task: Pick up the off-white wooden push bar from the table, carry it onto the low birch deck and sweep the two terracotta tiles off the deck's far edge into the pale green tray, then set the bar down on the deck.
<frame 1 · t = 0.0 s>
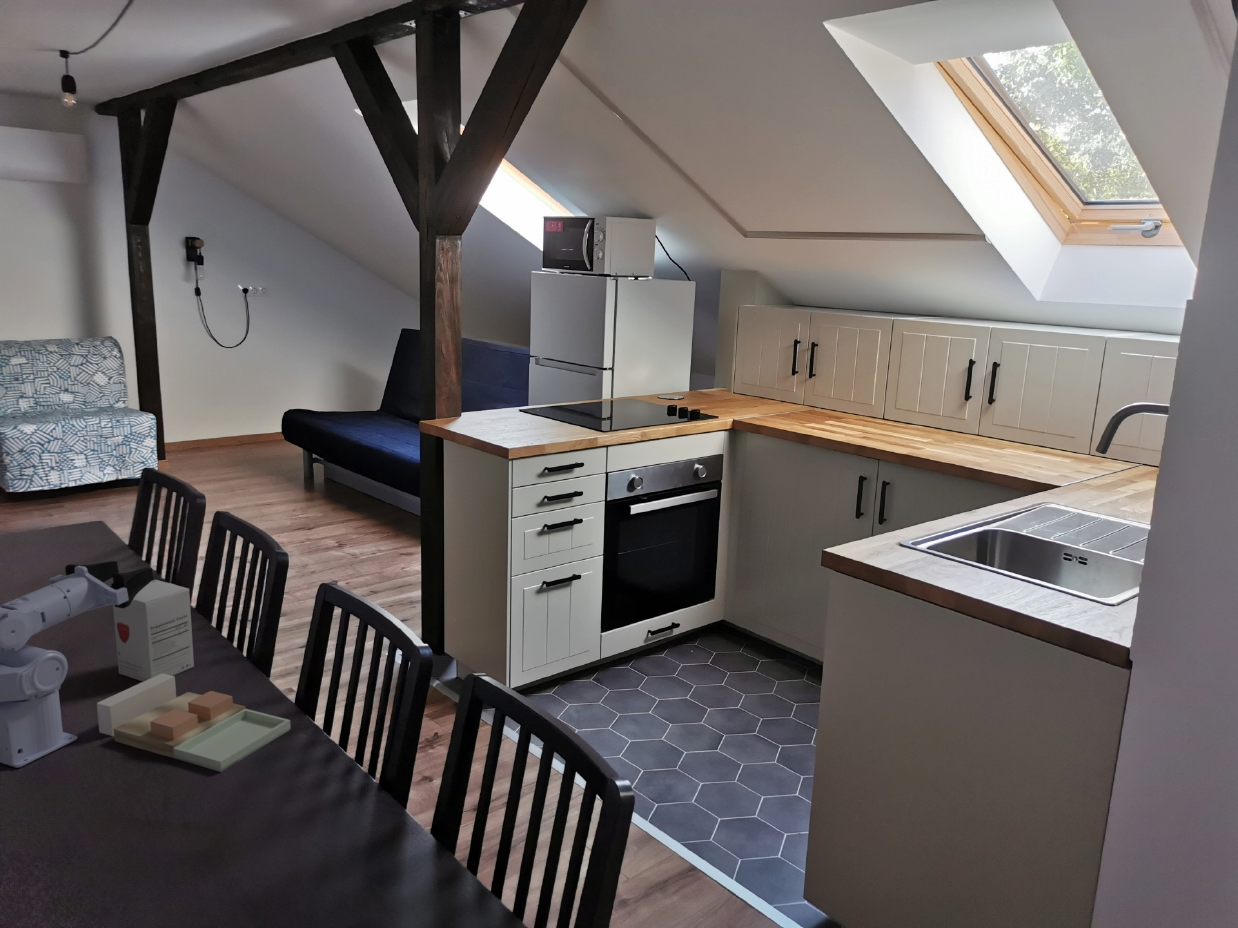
hand: (133, 570, 152), 22 cm above the table, tool horizontal, fingers open, 7 cm apart
push bar: (139, 718, 149), on the table
deck: (182, 729, 146), on the table
tray: (234, 743, 142), on the table
tile b: (211, 710, 147), point 2 cm above the table, touching deck
tile a: (174, 730, 141), point 2 cm above the table, touching deck
supplement box: (156, 671, 166), on the table
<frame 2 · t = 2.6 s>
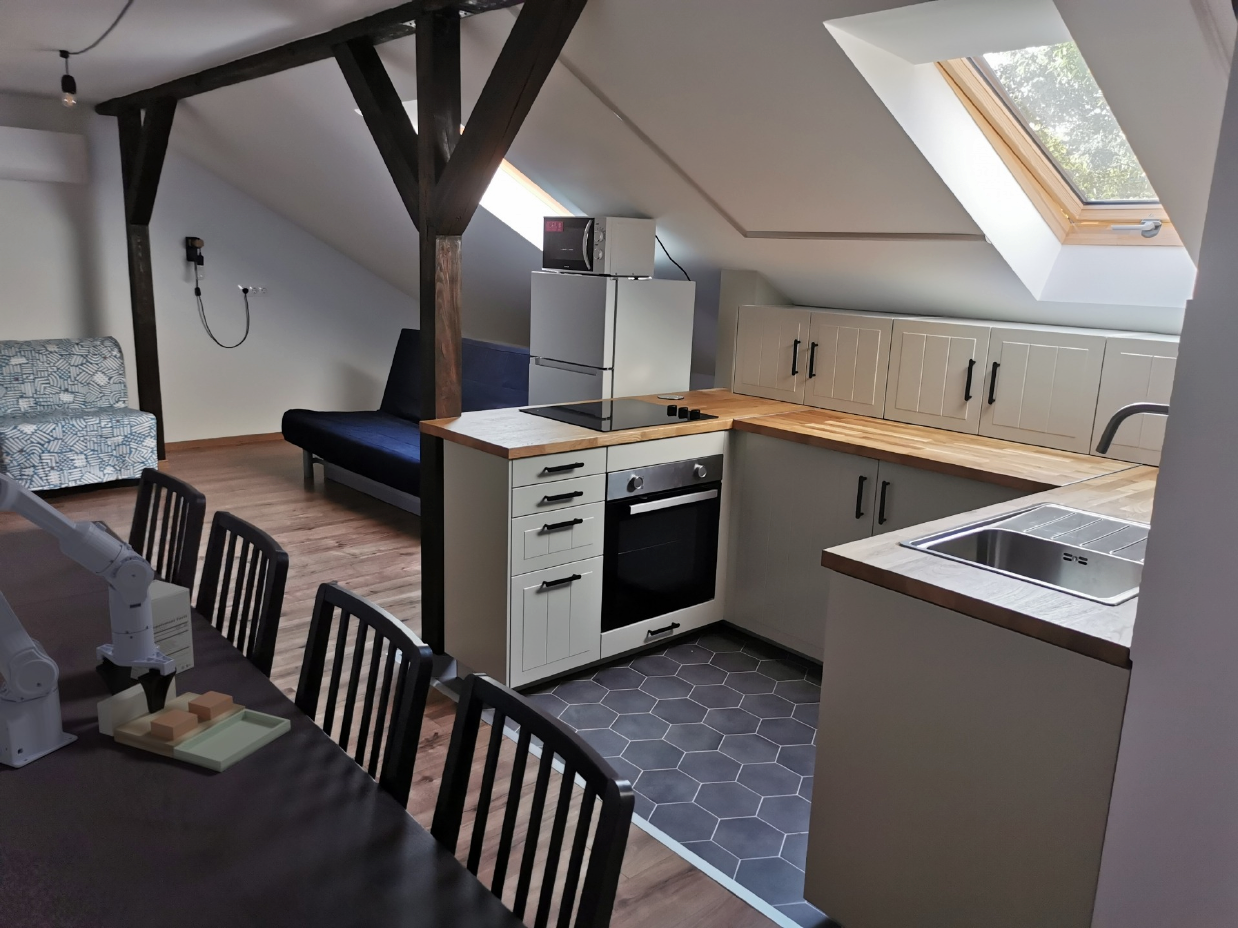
hand: (139, 708, 149), 2 cm above the table, tool pointing down, fingers open, 7 cm apart
nothing on the table moved.
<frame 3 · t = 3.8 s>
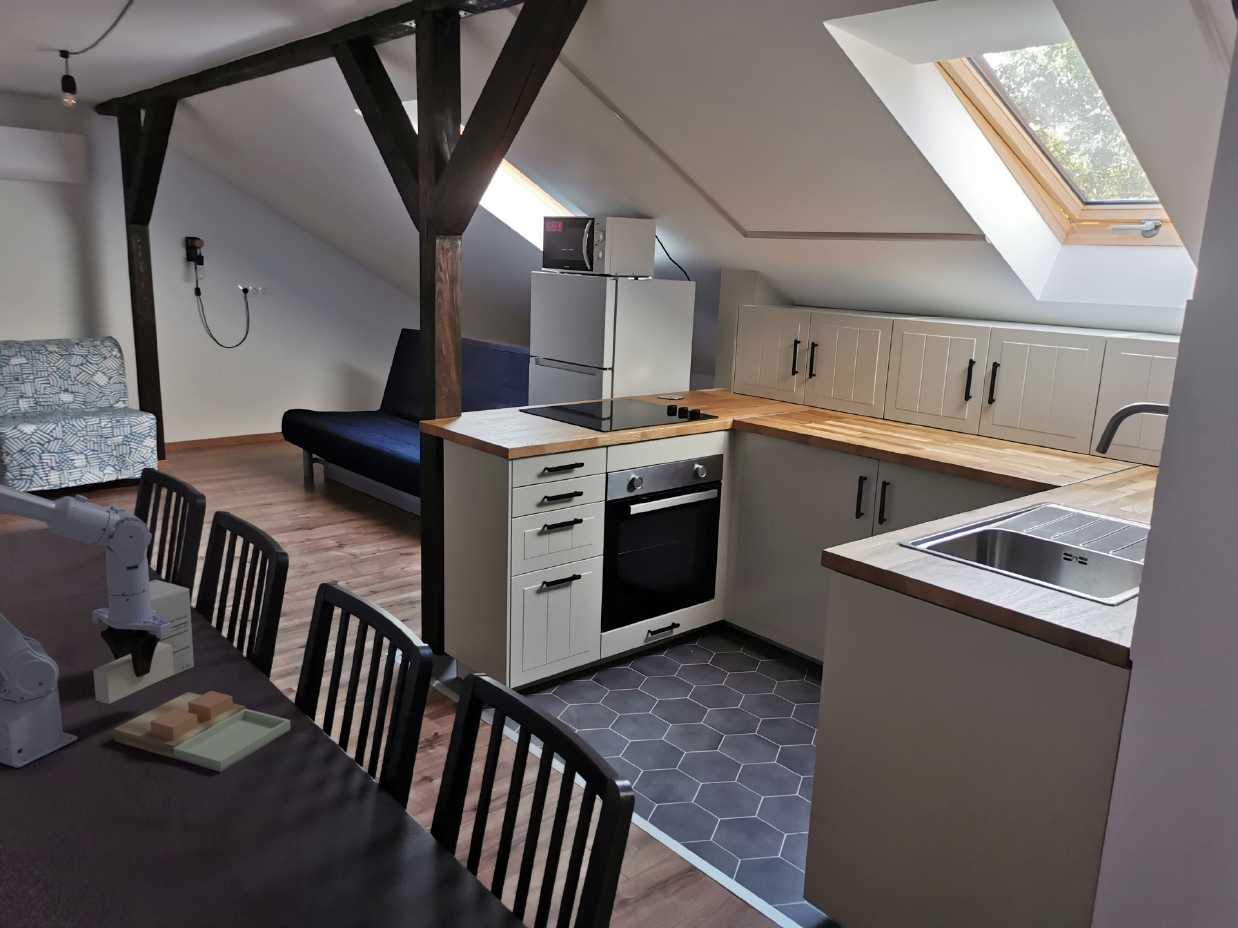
hand: (135, 672, 147), 8 cm above the table, tool pointing down, fingers closed on push bar, 3 cm apart
push bar: (136, 686, 148), point 5 cm above the table, touching gripper
everything else where it was.
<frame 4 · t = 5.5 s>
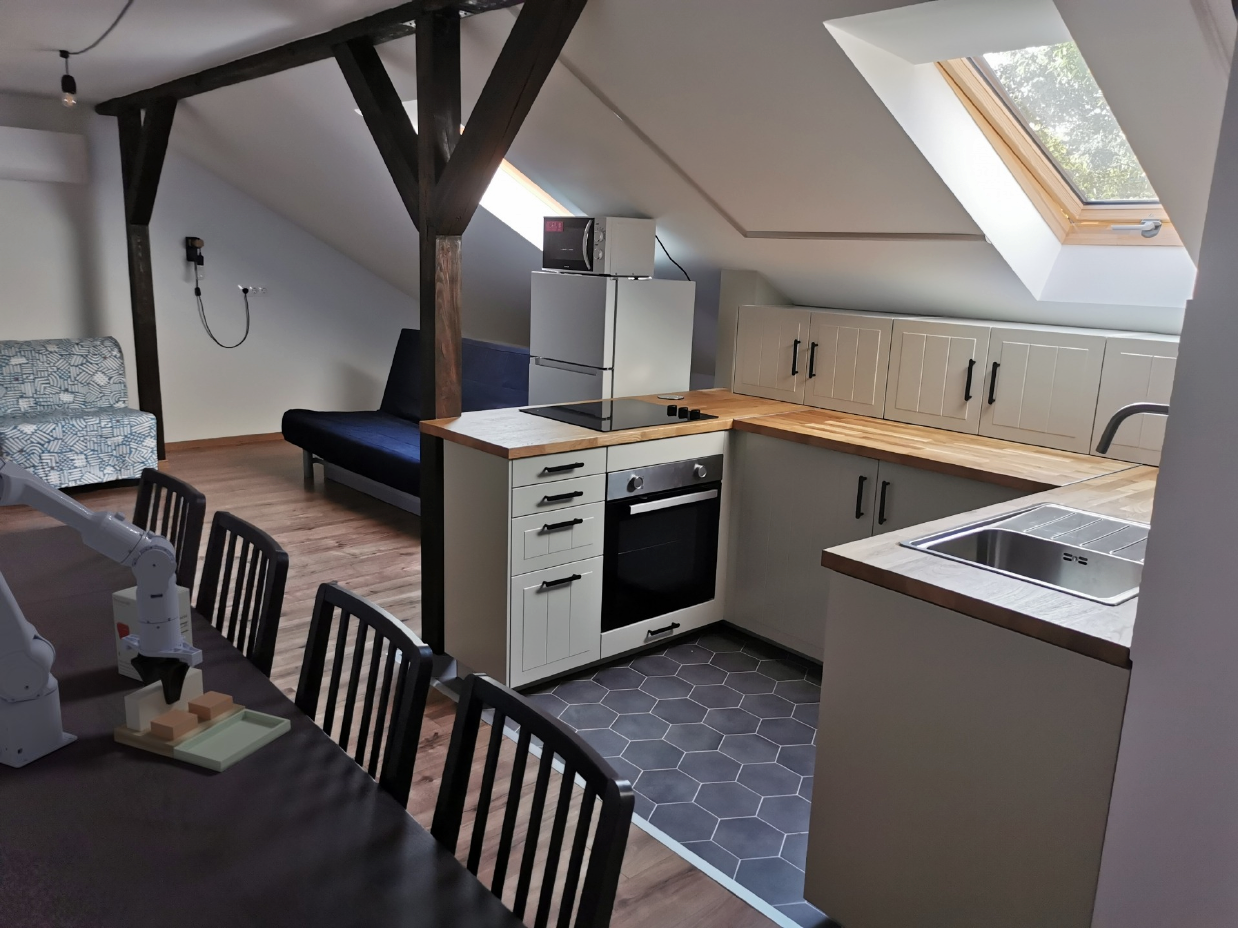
hand: (165, 699, 146), 4 cm above the table, tool pointing down, fingers closed on push bar, 3 cm apart
push bar: (166, 712, 146), point 2 cm above the table, touching gripper
everything else where it was.
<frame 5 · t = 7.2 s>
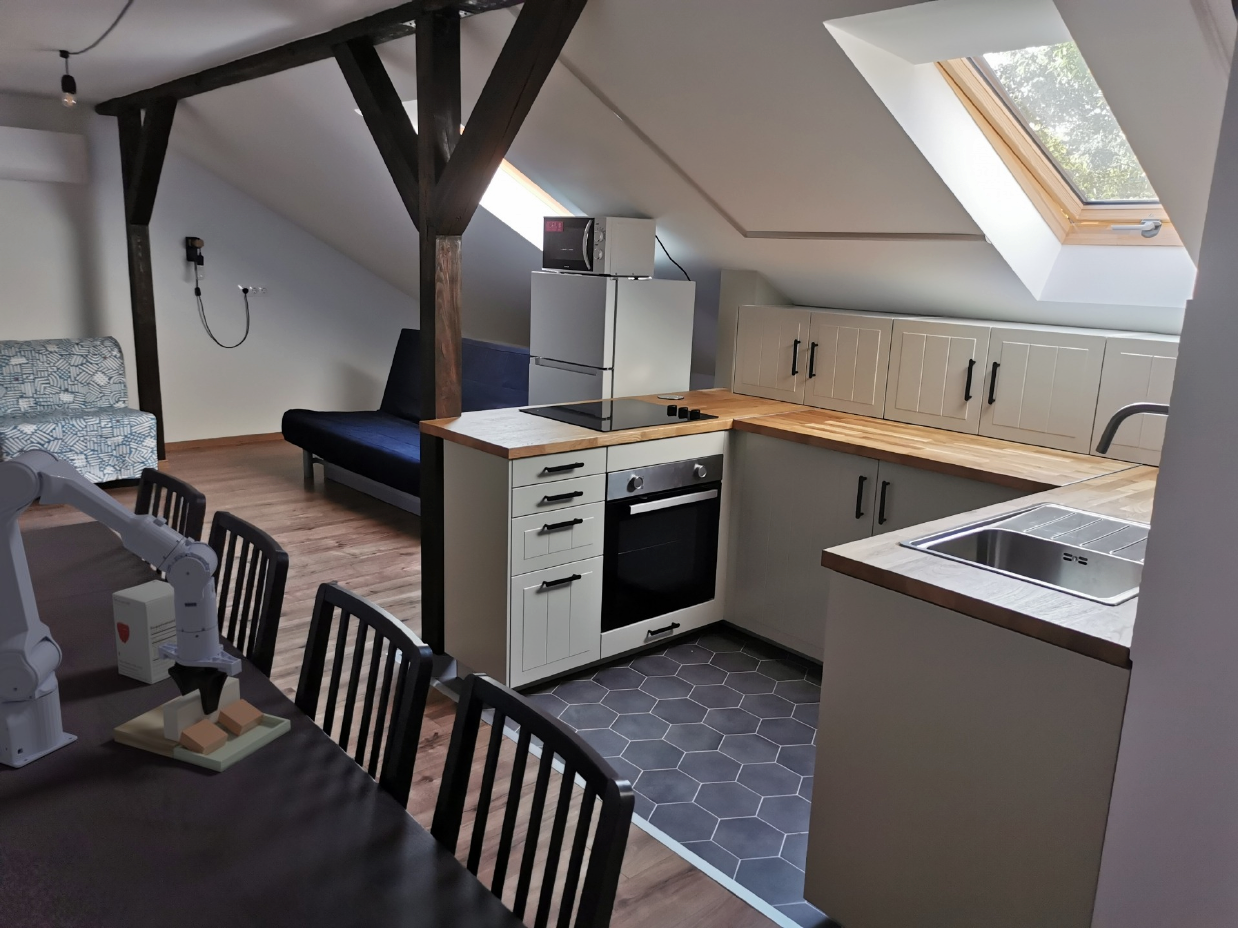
hand: (202, 709, 143), 4 cm above the table, tool pointing down, fingers closed on push bar, 3 cm apart
push bar: (203, 722, 144), point 2 cm above the table, touching deck, gripper, tile a, tile b
tile b: (239, 722, 146), point 1 cm above the table, tilted 22°, touching push bar, tray
tile a: (202, 743, 139), point 1 cm above the table, tilted 21°, touching deck, push bar, tray
everything else where it was.
when the fingers open (4 cm above the table, at t = 9.1 s): push bar stays where it is, resting on deck.
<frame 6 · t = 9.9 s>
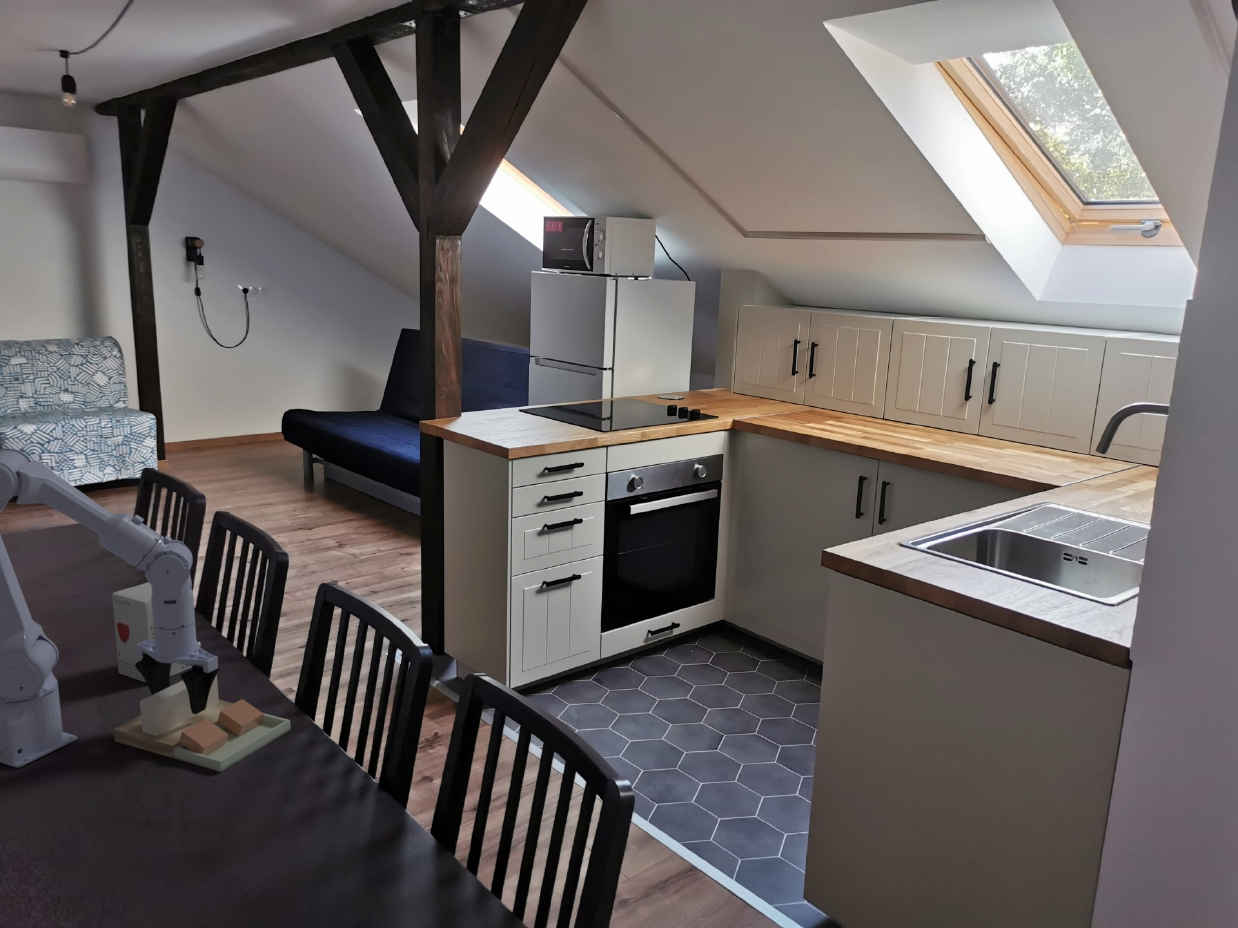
hand: (180, 706, 145), 4 cm above the table, tool pointing down, fingers open, 7 cm apart
push bar: (181, 716, 145), point 2 cm above the table, touching deck
tile b: (239, 722, 146), point 1 cm above the table, tilted 21°, touching deck, tray
tile a: (202, 743, 139), point 1 cm above the table, tilted 21°, touching deck, tray
everything else where it was.
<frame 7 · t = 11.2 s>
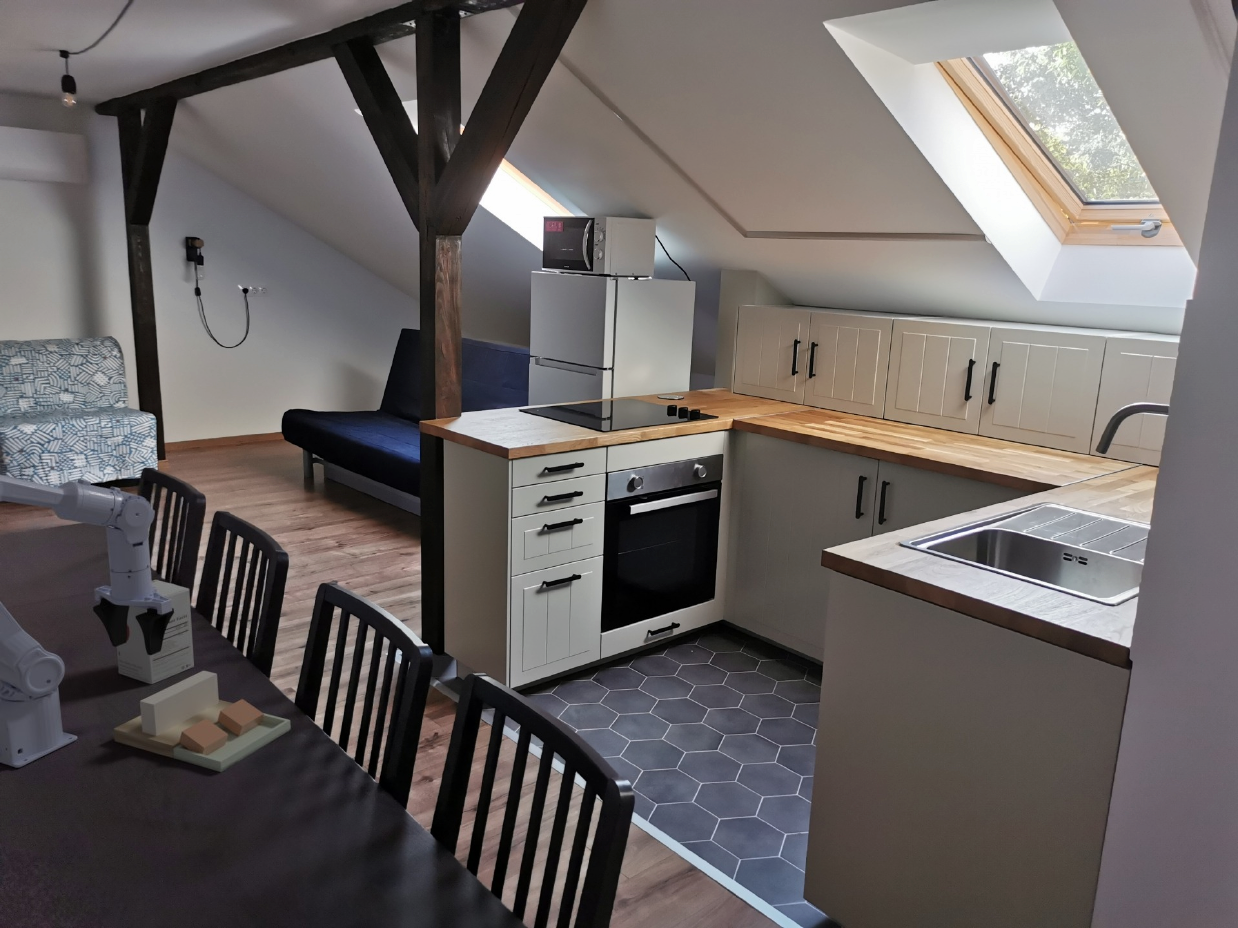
hand: (136, 648, 151), 10 cm above the table, tool pointing down, fingers open, 7 cm apart
nothing on the table moved.
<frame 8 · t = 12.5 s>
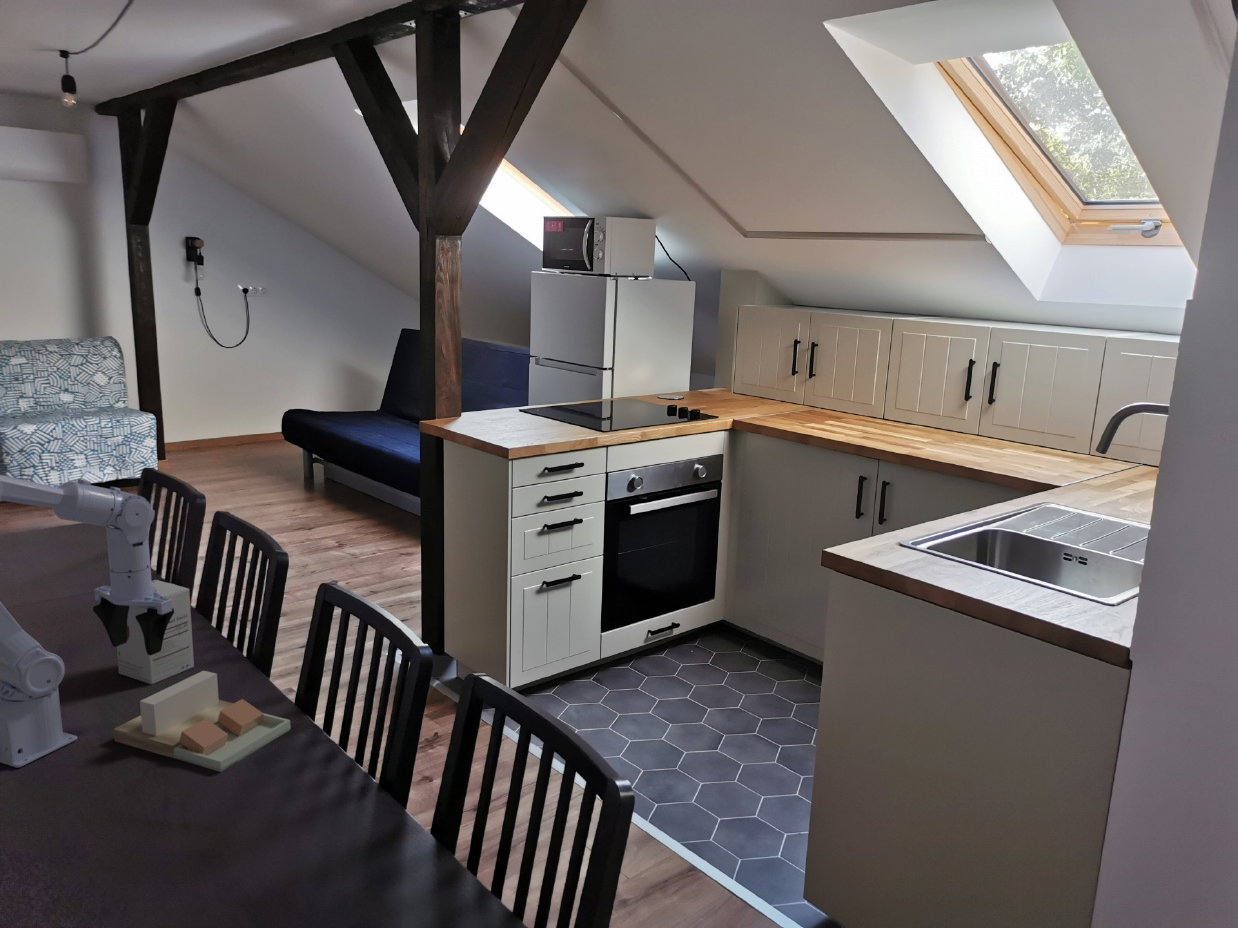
hand: (136, 648, 151), 10 cm above the table, tool pointing down, fingers open, 7 cm apart
nothing on the table moved.
at the end: tile a inside the target area (4.8 cm from its centre), point 1.2 cm above the table; tile b inside the target area (4.7 cm from its centre), point 1.2 cm above the table; the gripper is holding nothing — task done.
